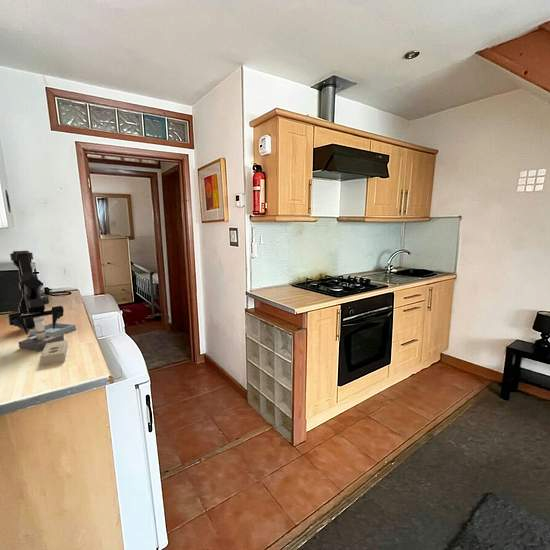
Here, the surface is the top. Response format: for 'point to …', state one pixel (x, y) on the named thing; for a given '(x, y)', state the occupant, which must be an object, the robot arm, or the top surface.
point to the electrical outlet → (54, 353)
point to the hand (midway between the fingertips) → (41, 331)
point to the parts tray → (56, 329)
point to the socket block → (39, 342)
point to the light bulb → (39, 328)
